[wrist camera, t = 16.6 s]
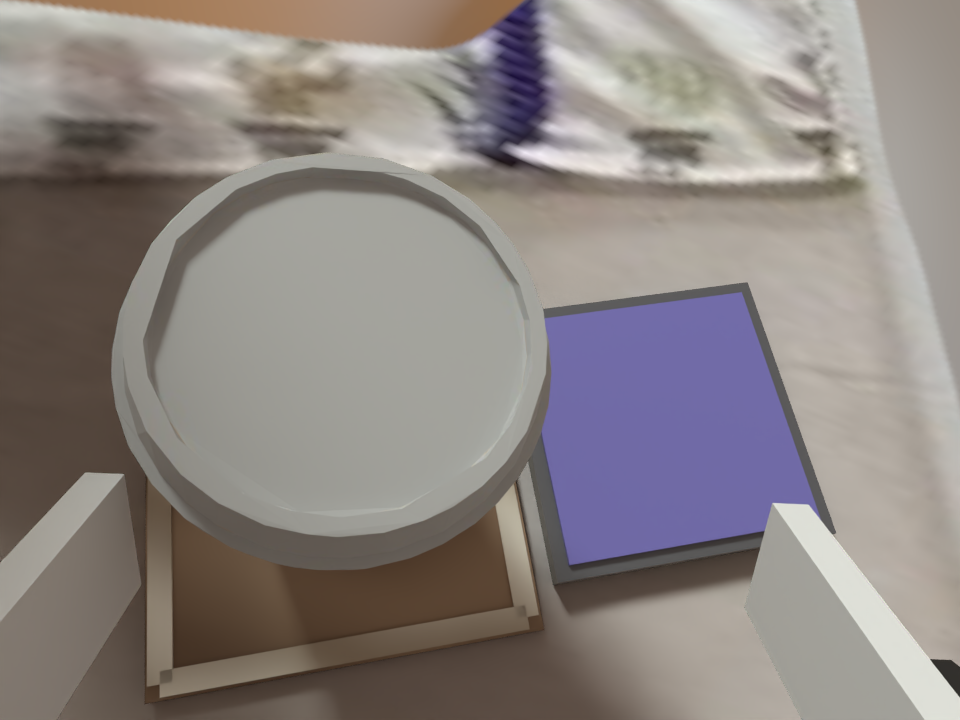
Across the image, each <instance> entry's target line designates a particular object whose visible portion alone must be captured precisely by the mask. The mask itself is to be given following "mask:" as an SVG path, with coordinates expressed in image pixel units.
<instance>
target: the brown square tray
mask: <svg viewBox="0 0 960 720" xmlns="http://www.w3.org/2000/svg"><path fill="white" fill-rule="evenodd" d="M540 630H544V626H543V621H542V616H541V610H540V605H539V600H538V595H537V590H536V584H535V579H534V574H533V569H532V564H531V558H530V553H529V548H528V543H527V538H526V533H525V527H524V522H523V517H522V512H521V507H520V501H519V496H518V491H517V486H516V481H515V483H514V484H513V485H512V486H511V487H510V489H509V490H508V491H507V492H506V494H505V495H504V496H503V497H502V498H501V500H500V501H499V502H498V503H497V504H496V505H495V506H494V507H493V508H492V509H490V510H489V511H488V512H487V513H486V514H485V515H484V516H483V517H482V518H481V519H480V520H479V521H478V522H476V523H475V524H474V525H472V526H471V527H469V528H467V529H466V530H464V531H463V532H461V533H460V534H458V535H456V536H455V537H453V538H452V539H450V540H449V541H447V542H445V543H444V544H442V545H440V546H437V547H435V548H433V549H430V550H428V551H426V552H424V553H421V554H419V555H417V556H414V557H412V558H409V559H405V560H401V561H397V562H393V563H389V564H384V565H380V566H376V567H372V568H368V569H358V570H313V569H303V568H294V567H289V566H285V565H280V564H275V563H272V562H269V561H266V560H263V559H260V558H257V557H254V556H252V555H249V554H246V553H243V552H241V551H238V550H236V549H233V548H231V547H229V546H227V545H226V544H224V543H222V542H221V541H219V540H217V539H216V538H214V537H212V536H211V535H209V534H207V533H205V532H204V531H202V530H201V529H199V528H198V527H196V526H195V525H193V524H192V523H191V522H189V521H188V520H186V519H185V518H184V517H183V516H182V515H181V514H180V513H179V512H178V511H177V510H176V509H175V508H174V507H173V506H172V505H171V504H170V502H169V501H168V500H167V499H166V498H165V497H164V496H163V495H162V494H161V493H160V492H159V491H158V490H157V489H156V488H155V487H154V486H153V485H152V483H151V482H150V480H149V479H148V477H147V475H146V541H145V704H148V703H153V702H159V701H164V700H169V699H175V698H180V697H185V696H191V695H196V694H202V693H207V692H212V691H218V690H223V689H228V688H234V687H239V686H245V685H250V684H255V683H261V682H266V681H271V680H277V679H282V678H288V677H293V676H298V675H304V674H309V673H314V672H320V671H325V670H331V669H336V668H341V667H347V666H352V665H357V664H363V663H368V662H374V661H379V660H384V659H390V658H395V657H400V656H406V655H411V654H417V653H422V652H427V651H433V650H438V649H443V648H449V647H454V646H460V645H465V644H470V643H476V642H481V641H486V640H492V639H497V638H503V637H508V636H513V635H519V634H524V633H529V632H535V631H540Z"/></svg>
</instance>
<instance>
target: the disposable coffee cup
mask: <svg viewBox="0 0 960 720" xmlns="http://www.w3.org/2000/svg"><path fill="white" fill-rule="evenodd" d="M111 379H112V386H113V392H114V399H115V406H116V410H117V413H118V416H119V419H120V422H121V425H122V428H123V432H124V435H125V438H126V441H127V444H128V446H129V448H130V450H131V451H132V453H133V454H134V456H135V458H136V459H137V461H138V462H139V464H140V466H141V467H142V469H143V471H144V472H145V474H146V475H147V477H148V479H149V480H150V482H151V483H152V485H153V486H154V487H155V488H156V489H157V490H158V491H159V492H160V493H161V494H162V495H163V496H164V497H165V498H166V499H167V500H168V501H169V502H170V504H171V505H172V506H173V507H174V508H175V509H176V510H177V511H178V512H179V513H180V514H181V515H182V516H183V517H184V518H185V519H186V520H188V521H189V522H191V523H192V524H193V525H195V526H196V527H198V528H199V529H201V530H202V531H204V532H205V533H207V534H209V535H211V536H212V537H214V538H216V539H217V540H219V541H221V542H222V543H224V544H226V545H227V546H229V547H231V548H233V549H236V550H238V551H241V552H243V553H246V554H249V555H252V556H254V557H257V558H260V559H263V560H266V561H269V562H272V563H275V564H280V565H285V566H289V567H294V568H303V569H313V570H358V569H368V568H372V567H376V566H380V565H384V564H389V563H393V562H397V561H401V560H405V559H409V558H412V557H414V556H417V555H419V554H421V553H424V552H426V551H428V550H430V549H433V548H435V547H437V546H440V545H442V544H444V543H445V542H447V541H449V540H450V539H452V538H453V537H455V536H456V535H458V534H460V533H461V532H463V531H464V530H466V529H467V528H469V527H471V526H472V525H474V524H475V523H476V522H478V521H479V520H480V519H481V518H482V517H483V516H484V515H485V514H486V513H487V512H488V511H489V510H490V509H492V508H493V507H494V506H495V505H496V504H497V503H498V502H499V501H500V500H501V498H502V497H503V496H504V495H505V494H506V492H507V491H508V490H509V489H510V487H511V486H512V485H513V484H514V483H515V481H516V480H517V479H518V478H519V476H520V474H521V472H522V471H523V469H524V467H525V465H526V464H527V462H528V460H529V458H530V457H531V455H532V453H533V451H534V449H535V446H536V444H537V441H538V439H539V437H540V434H541V431H542V427H543V424H544V420H545V416H546V413H547V409H548V406H549V395H550V384H551V360H550V348H549V339H548V336H547V332H546V327H545V319H544V311H543V307H542V304H541V302H540V299H539V296H538V294H537V291H536V288H535V285H534V283H533V280H532V277H531V275H530V272H529V270H528V268H527V266H526V265H525V263H524V261H523V260H522V258H521V256H520V254H519V253H518V251H517V249H516V248H515V246H514V244H513V243H512V242H511V241H510V239H509V238H508V237H507V236H506V235H505V233H504V232H503V231H502V230H501V228H500V227H499V226H498V225H497V224H496V223H495V222H494V221H493V220H492V219H491V218H490V217H489V216H488V215H487V214H486V213H485V212H483V211H482V210H481V209H480V208H479V207H478V206H477V205H476V204H475V203H474V202H473V201H472V200H470V199H469V198H467V197H466V196H464V195H462V194H461V193H459V192H457V191H456V190H454V189H453V188H451V187H449V186H448V185H446V184H444V183H443V182H441V181H440V180H438V179H436V178H435V177H433V176H431V175H428V174H426V173H423V172H420V171H417V170H414V169H412V168H409V167H406V166H403V165H400V164H397V163H395V162H392V161H389V160H386V159H383V158H374V157H365V156H355V155H346V154H337V153H328V152H327V153H320V154H312V155H305V156H297V157H290V158H282V159H275V160H270V161H267V162H265V163H262V164H259V165H257V166H254V167H252V168H249V169H246V170H244V171H241V172H239V173H236V174H234V175H231V176H228V177H226V178H225V179H223V180H222V181H220V182H218V183H217V184H215V185H214V186H212V187H210V188H209V189H207V190H206V191H204V192H203V193H201V194H199V195H198V196H196V197H195V198H194V199H193V200H192V201H191V202H190V203H189V204H188V205H186V206H185V207H184V208H183V209H182V210H181V211H180V212H179V213H178V214H177V215H176V216H175V217H174V218H173V219H172V220H171V221H170V222H169V223H168V224H167V226H166V227H165V228H164V229H163V230H162V232H161V233H160V234H159V235H158V236H157V238H156V239H155V240H154V241H153V242H152V244H151V245H150V247H149V249H148V251H147V253H146V255H145V257H144V259H143V261H142V263H141V265H140V267H139V269H138V271H137V273H136V275H135V278H134V279H133V281H132V283H131V286H130V288H129V290H128V293H127V295H126V297H125V300H124V302H123V305H122V307H121V309H120V312H119V317H118V322H117V327H116V332H115V337H114V342H113V347H112V368H111Z"/></svg>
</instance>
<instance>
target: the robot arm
mask: <svg viewBox="0 0 960 720" xmlns="http://www.w3.org/2000/svg"><path fill="white" fill-rule="evenodd" d="M140 586H141V578H140V572H139V565H138V559H137V552H136V546H135V539H134V533H133V526H132V520H131V513H130V507H129V500H128V494H127V487H126V481H125V474H110V473H87V472H85V473H84V474H83V475H82V476H81V477H80V478H79V479H78V481H77V482H76V483H75V484H74V485H73V486H72V487H71V488H70V489H69V490H68V491H67V492H66V493H65V494H64V495H63V496H62V498H61V499H60V500H59V501H58V502H57V503H56V504H55V505H54V506H53V507H52V508H51V509H50V510H49V511H48V512H47V513H46V514H45V516H44V517H43V518H42V519H41V520H40V521H39V522H38V523H37V524H36V525H35V526H34V527H33V528H32V529H31V530H30V531H29V533H28V534H27V535H26V536H25V537H24V538H23V539H22V540H21V541H20V542H19V543H18V544H17V545H16V546H15V547H14V548H13V550H12V551H11V552H10V553H9V554H8V555H7V556H6V557H5V558H4V559H3V560H2V561H1V562H0V720H57V718H58V717H59V715H60V714H61V712H62V711H63V709H64V707H65V706H66V704H67V703H68V701H69V699H70V698H71V696H72V695H73V693H74V691H75V690H76V688H77V687H78V685H79V683H80V682H81V680H82V679H83V677H84V675H85V674H86V672H87V671H88V669H89V668H90V666H91V664H92V663H93V661H94V660H95V658H96V656H97V655H98V653H99V652H100V650H101V648H102V647H103V645H104V644H105V642H106V640H107V639H108V637H109V636H110V634H111V633H112V631H113V629H114V628H115V626H116V625H117V623H118V621H119V620H120V618H121V617H122V615H123V613H124V612H125V610H126V609H127V607H128V605H129V604H130V602H131V601H132V599H133V598H134V596H135V594H136V593H137V591H138V590H139V588H140ZM744 608H745V610H746V612H747V614H748V616H749V618H750V620H751V622H752V624H753V626H754V628H755V629H756V631H757V633H758V635H759V637H760V639H761V641H762V643H763V645H764V647H765V649H766V651H767V653H768V655H769V657H770V659H771V661H772V663H773V664H774V666H775V668H776V670H777V672H778V674H779V676H780V678H781V680H782V682H783V684H784V686H785V688H786V690H787V692H788V694H789V696H790V698H791V699H792V701H793V703H794V705H795V707H796V709H797V711H798V713H799V715H800V717H801V719H802V720H960V667H959V666H958V665H957V664H955V663H954V662H953V661H952V660H935V659H929V658H928V656H927V655H926V654H925V653H924V651H923V650H922V649H921V648H920V646H919V645H918V644H917V642H916V641H915V640H914V639H913V637H912V636H911V635H910V633H909V632H908V631H907V630H906V628H905V627H904V626H903V625H902V623H901V622H900V621H899V619H898V618H897V617H896V616H895V614H894V613H893V612H892V610H891V609H890V608H889V607H888V605H887V604H886V603H885V602H884V600H883V599H882V598H881V596H880V595H879V594H878V593H877V591H876V590H875V589H874V587H873V586H872V585H871V584H870V582H869V581H868V580H867V579H866V577H865V576H864V575H863V573H862V572H861V571H860V570H859V568H858V567H857V566H856V565H855V563H854V562H853V561H852V559H851V558H850V557H849V556H848V554H847V553H846V552H845V550H844V549H843V548H842V547H841V545H840V544H839V543H838V542H837V540H836V539H835V538H834V536H833V535H832V534H831V533H830V531H829V530H828V529H827V527H826V526H825V525H824V524H823V522H822V521H821V520H820V519H819V517H818V516H817V515H816V513H815V512H814V511H813V510H812V508H811V507H810V506H809V505H807V504H784V503H772V506H771V510H770V513H769V517H768V521H767V525H766V528H765V532H764V536H763V540H762V543H761V547H760V551H759V555H758V558H757V562H756V566H755V569H754V573H753V577H752V581H751V584H750V588H749V592H748V596H747V599H746V603H745V607H744Z"/></svg>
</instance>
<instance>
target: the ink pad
mask: <svg viewBox="0 0 960 720" xmlns="http://www.w3.org/2000/svg"><path fill="white" fill-rule="evenodd" d="M543 311H544V319H545V327H546V332H547V336H548V339H549V348H550V360H551V384H550V395H549V406H548V409H547V413H546V416H545V420H544V424H543V427H542V431H541V434H540V437H539V439H538V441H537V444H536V446H535V449H534V451H533V453H532V455H531V457H530V458H529V460H528V462H529V467H530V472H531V477H532V482H533V487H534V492H535V497H536V502H537V507H538V512H539V517H540V522H541V527H542V532H543V537H544V542H545V547H546V552H547V556H548V561H549V566H550V571H551V576H552V581H553V585H558V584H563V583H569V582H574V581H580V580H586V579H591V578H597V577H602V576H608V575H614V574H619V573H625V572H630V571H636V570H642V569H647V568H653V567H658V566H664V565H670V564H675V563H681V562H686V561H692V560H698V559H703V558H709V557H714V556H720V555H726V554H731V553H737V552H742V551H748V550H754V549H759V548H760V547H761V543H762V540H763V536H764V532H765V528H766V525H767V521H768V517H769V513H770V510H771V506H772V503H784V504H807V505H809V506H810V507H811V508H812V510H813V511H814V512H815V513H816V515H817V516H818V517H819V519H820V520H821V521H822V522H823V524H824V525H825V526H826V527H827V529H828V530H829V531H830V533H831V534H835V533H836V531H835V529H834V526H833V523H832V520H831V517H830V514H829V512H828V509H827V506H826V503H825V500H824V497H823V495H822V492H821V489H820V486H819V483H818V481H817V478H816V475H815V472H814V469H813V466H812V464H811V461H810V458H809V455H808V452H807V449H806V447H805V444H804V441H803V438H802V435H801V432H800V430H799V427H798V424H797V421H796V418H795V416H794V413H793V410H792V407H791V404H790V401H789V399H788V396H787V393H786V390H785V387H784V384H783V382H782V379H781V376H780V373H779V370H778V367H777V365H776V362H775V359H774V356H773V353H772V351H771V348H770V345H769V342H768V339H767V336H766V334H765V331H764V328H763V325H762V322H761V319H760V317H759V314H758V311H757V308H756V305H755V302H754V300H753V297H752V294H751V291H750V288H749V286H748V283H739V284H731V285H724V286H716V287H708V288H701V289H693V290H686V291H678V292H670V293H663V294H655V295H647V296H640V297H632V298H625V299H617V300H609V301H602V302H594V303H586V304H579V305H571V306H564V307H556V308H548V309H543Z"/></svg>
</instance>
